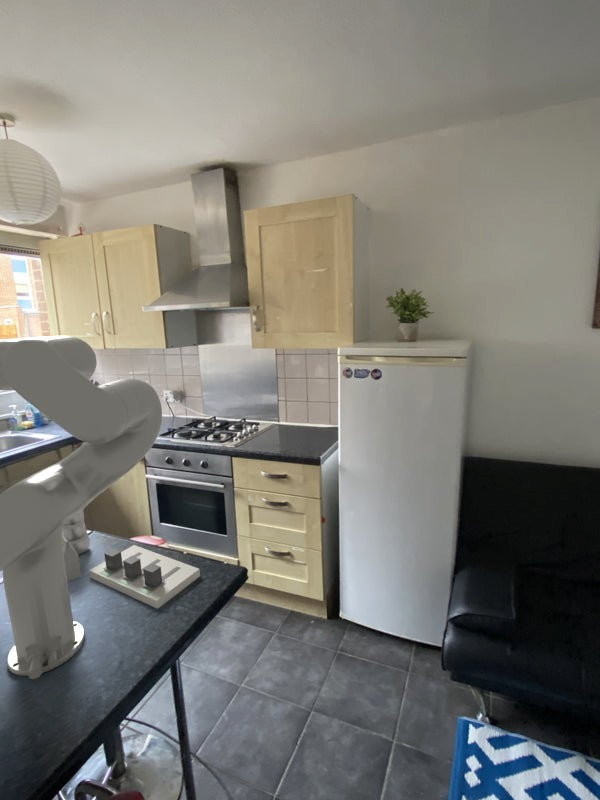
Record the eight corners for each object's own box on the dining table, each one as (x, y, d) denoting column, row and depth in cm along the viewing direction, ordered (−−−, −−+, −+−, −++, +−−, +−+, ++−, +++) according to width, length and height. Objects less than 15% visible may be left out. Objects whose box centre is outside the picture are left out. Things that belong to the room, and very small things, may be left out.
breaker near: (165, 581, 94) (163, 565, 93) (152, 590, 91) (150, 574, 90) (154, 577, 96) (152, 561, 95) (141, 585, 93) (140, 569, 92)
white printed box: (74, 565, 106) (68, 529, 104) (81, 576, 101) (75, 539, 99) (58, 571, 104) (52, 534, 102) (64, 582, 99) (58, 545, 97)
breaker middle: (144, 573, 97) (143, 557, 97) (132, 581, 94) (130, 565, 94) (134, 569, 99) (133, 554, 98) (122, 577, 96) (120, 561, 95)
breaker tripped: (125, 565, 101) (123, 550, 100) (112, 573, 98) (110, 558, 97) (116, 561, 103) (114, 547, 102) (103, 569, 100) (101, 554, 99)
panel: (200, 576, 99) (199, 568, 99) (157, 608, 88) (156, 600, 88) (134, 551, 111) (134, 544, 111) (90, 577, 100) (89, 569, 100)
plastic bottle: (96, 548, 113) (87, 480, 110) (74, 561, 107) (63, 490, 104) (80, 544, 116) (70, 477, 112) (58, 556, 110) (47, 486, 106)
